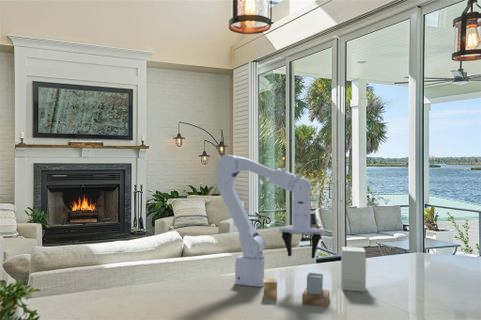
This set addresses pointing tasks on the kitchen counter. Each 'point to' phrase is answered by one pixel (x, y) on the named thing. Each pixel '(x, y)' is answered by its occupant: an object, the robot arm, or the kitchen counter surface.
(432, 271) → the kitchen counter surface
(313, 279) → the slate block
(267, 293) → the oak block
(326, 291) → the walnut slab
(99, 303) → the kitchen counter surface
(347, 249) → the supplement box
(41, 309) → the kitchen counter surface
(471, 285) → the kitchen counter surface
